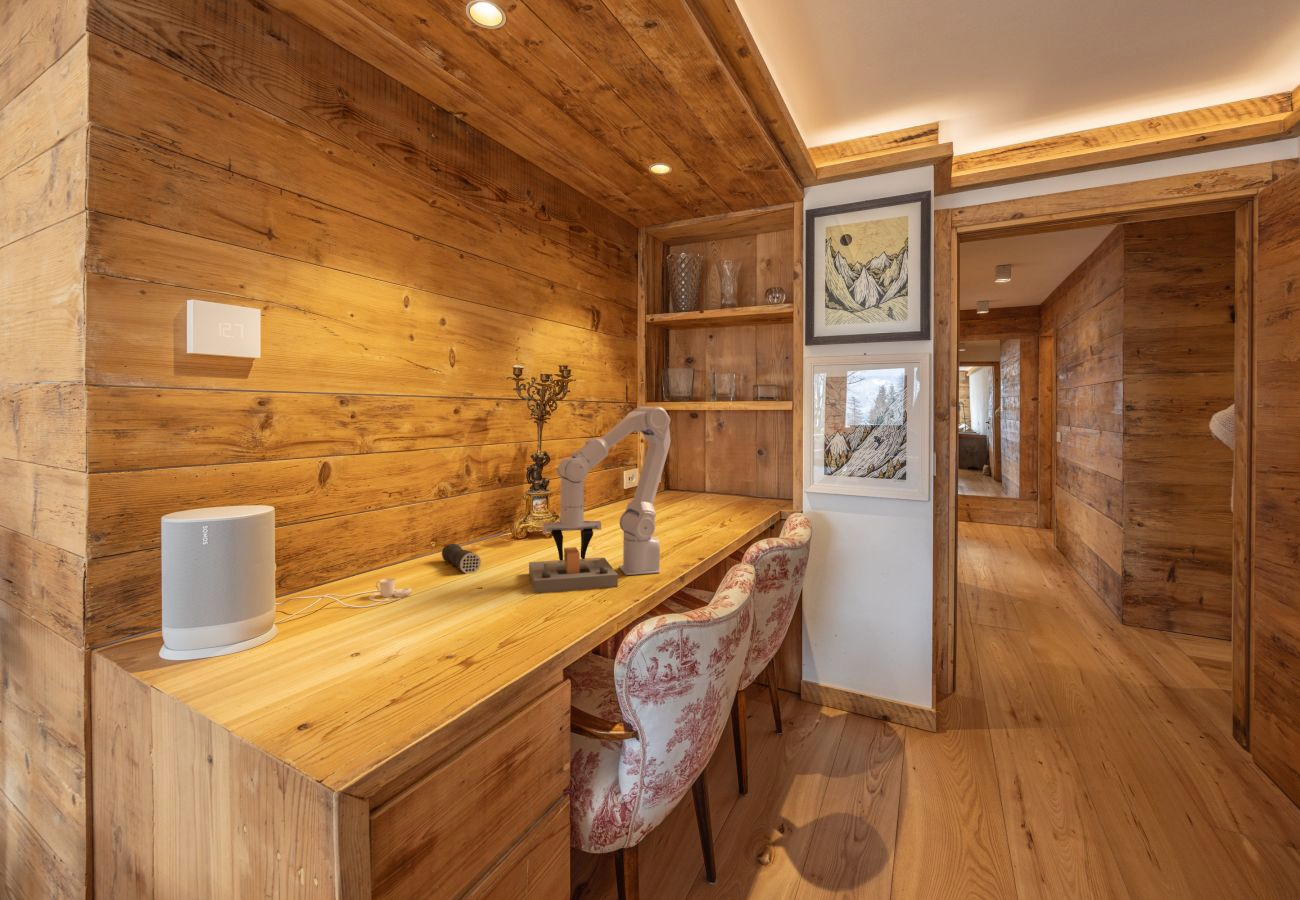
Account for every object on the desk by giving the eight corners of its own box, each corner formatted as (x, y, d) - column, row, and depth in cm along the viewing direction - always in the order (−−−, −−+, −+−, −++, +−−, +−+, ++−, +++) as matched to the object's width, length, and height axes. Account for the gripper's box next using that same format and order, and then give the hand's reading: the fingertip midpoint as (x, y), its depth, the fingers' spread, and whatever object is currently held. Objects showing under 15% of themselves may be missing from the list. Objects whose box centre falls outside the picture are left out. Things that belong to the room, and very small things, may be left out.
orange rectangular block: (575, 566, 147) (575, 547, 146) (579, 572, 141) (579, 553, 141) (564, 566, 146) (564, 547, 146) (567, 573, 140) (567, 553, 140)
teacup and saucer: (417, 595, 131) (417, 578, 131) (388, 606, 124) (388, 588, 124) (390, 589, 135) (390, 573, 135) (360, 600, 128) (360, 582, 128)
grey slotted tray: (604, 568, 154) (604, 550, 153) (617, 586, 138) (617, 566, 138) (529, 573, 148) (529, 554, 148) (534, 593, 133) (534, 572, 132)
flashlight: (440, 562, 158) (439, 543, 158) (459, 559, 161) (458, 540, 161) (460, 575, 146) (460, 555, 146) (481, 571, 150) (480, 551, 149)
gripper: (597, 501, 148) (597, 553, 149) (541, 503, 144) (541, 556, 145) (603, 506, 141) (602, 560, 142) (544, 508, 137) (544, 564, 138)
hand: (571, 558), depth 143 cm, fingers open, 5 cm apart
